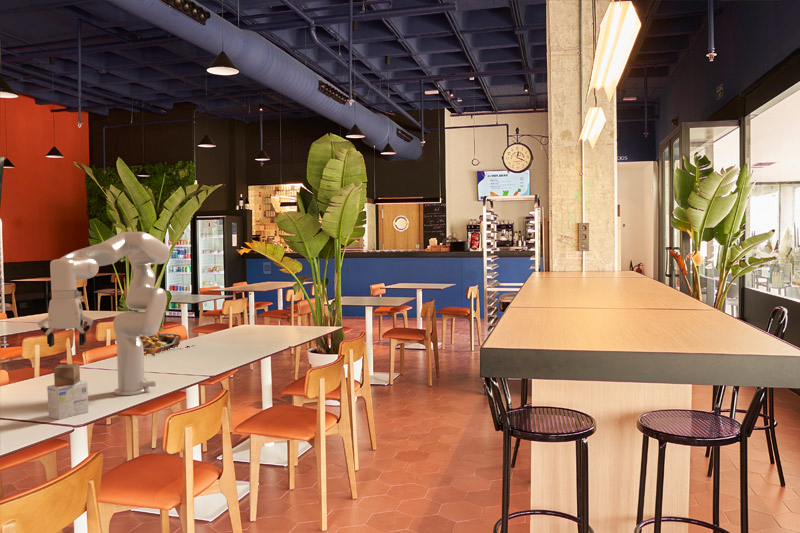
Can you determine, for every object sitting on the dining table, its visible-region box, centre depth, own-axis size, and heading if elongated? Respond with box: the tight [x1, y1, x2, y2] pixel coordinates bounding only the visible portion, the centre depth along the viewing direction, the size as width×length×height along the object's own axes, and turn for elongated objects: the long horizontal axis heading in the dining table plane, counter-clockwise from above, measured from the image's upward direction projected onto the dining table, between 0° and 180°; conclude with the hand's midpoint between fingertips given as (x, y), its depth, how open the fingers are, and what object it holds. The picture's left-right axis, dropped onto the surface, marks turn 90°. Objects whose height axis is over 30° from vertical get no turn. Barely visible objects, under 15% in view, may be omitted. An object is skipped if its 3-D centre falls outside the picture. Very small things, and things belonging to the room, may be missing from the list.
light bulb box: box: [46, 380, 89, 420], centre depth 207 cm, size 11×7×11 cm, turn 149°
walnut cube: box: [53, 363, 81, 386], centre depth 207 cm, size 6×6×6 cm
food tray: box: [116, 332, 182, 357], centre depth 337 cm, size 35×26×11 cm
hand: (67, 345), depth 207 cm, fingers open, 9 cm apart
